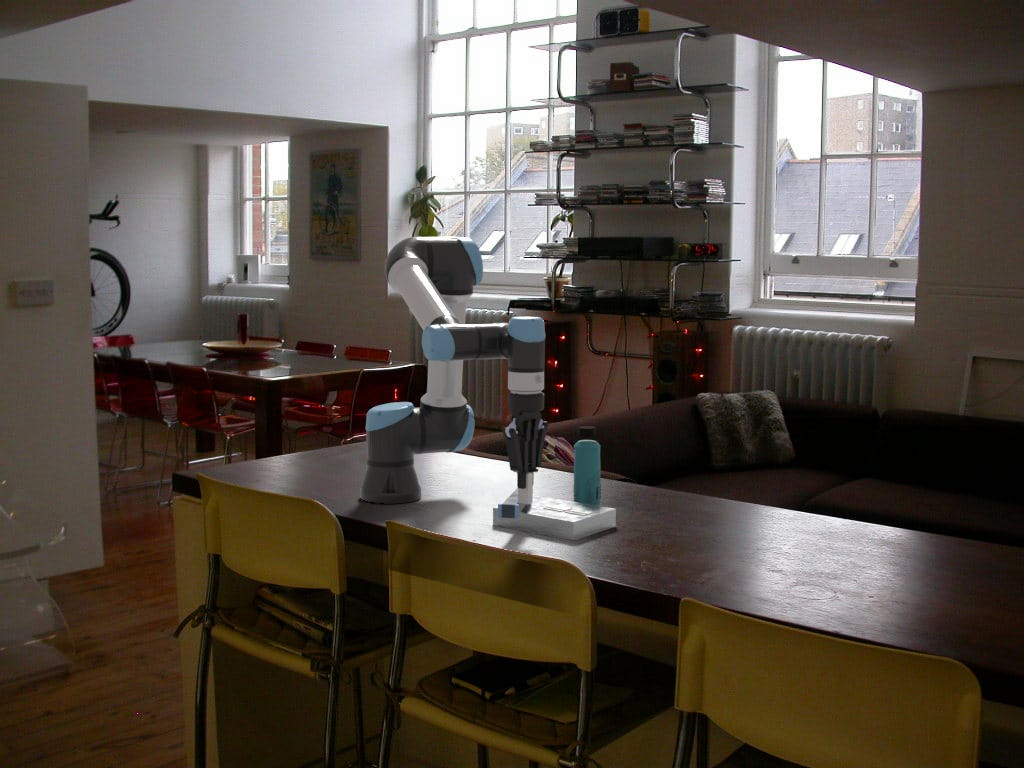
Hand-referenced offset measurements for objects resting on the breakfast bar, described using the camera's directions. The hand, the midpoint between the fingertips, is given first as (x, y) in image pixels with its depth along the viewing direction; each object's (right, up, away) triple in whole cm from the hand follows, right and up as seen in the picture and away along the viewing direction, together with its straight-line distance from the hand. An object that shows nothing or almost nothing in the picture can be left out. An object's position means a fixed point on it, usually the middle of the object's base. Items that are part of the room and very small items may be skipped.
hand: (525, 502), depth 230 cm
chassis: (+7, -7, +13) cm, 16 cm away
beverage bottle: (+15, -5, +28) cm, 32 cm away
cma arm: (-2, -2, +7) cm, 7 cm away
